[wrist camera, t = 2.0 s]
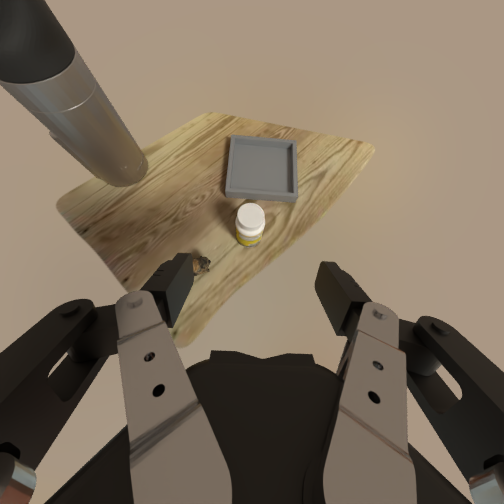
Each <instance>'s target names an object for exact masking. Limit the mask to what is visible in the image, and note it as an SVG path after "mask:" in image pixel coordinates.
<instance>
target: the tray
mask: <svg viewBox="0 0 504 504" xmlns="http://www.w3.org/2000/svg"><path fill="white" fill-rule="evenodd" d="M225 193H226V197H229V198H242V199H255V200H268V201H281V202H294V203H295V202H296V200H297V198H298V182H297V145H296V140H285V139H274V138H263V137H252V136H241V135H231V143H230V152H229V161H228V170H227V180H226V189H225Z"/></svg>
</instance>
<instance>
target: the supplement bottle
mask: <svg viewBox="0 0 504 504" xmlns="http://www.w3.org/2000/svg"><path fill="white" fill-rule="evenodd" d="M235 225H236V237H237V240H238V242H239V243H240V244H241V245H242V246H244V247H254V246H256V245H257V244H258V243H259V242H260V240H261V237H262V233H263V230H264V226H265V219H264V211H263V209H262V208H261V207H260V206H259V205H257V204H254V203H247V204H244V205H242V206H241V207H240V208H239V210H238V213H237V217H236V221H235Z"/></svg>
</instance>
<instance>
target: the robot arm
mask: <svg viewBox="0 0 504 504" xmlns="http://www.w3.org/2000/svg"><path fill="white" fill-rule="evenodd" d="M0 85H1V86H2V87H3V88H4V89H5V90H6V91H8V92H9V93H10V94H11V95H12V96H13V97H14V98H15V99H16V100H17V101H18V102H20V103H21V104H22V105H23V106H24V107H25V108H26V109H27V110H28V111H29V112H31V113H32V114H33V115H34V116H35V117H36V118H37V119H38V120H39V121H40V122H41V123H43V125H45V126H46V127H47V128H48V129H49V130H50V132H49V133H50V136H51V137H52V138H53V139H54V140H55V141H56V142H57V143H58V144H60V145H61V146H62V147H63V148H64V149H65V150H66V151H67V152H69V153H70V154H71V155H72V156H73V157H74V158H75V159H76V160H77V161H79V162H80V163H81V164H82V165H83V166H84V167H85V168H86V169H88V170H89V171H90V172H91V173H92V174H93V175H94V176H95V177H96V178H100V179H103V180H104V181H105V182H107V183H108V184H110V185H113V186H119V187H122V186H129V185H132V184H134V183H136V182H138V181H139V180H141V179H142V178H143V177H144V175H145V174H146V172H147V169H148V162H147V159H146V157H145V156H144V154H143V153H142V151H141V149H140V148H139V146H138V145H137V143H136V142H135V140H134V138H133V137H132V135H131V134H130V132H129V131H128V129H127V128H126V126H125V124H124V123H123V121H122V120H121V118H120V117H119V115H118V114H117V112H116V110H115V109H114V107H113V106H112V104H111V103H110V101H109V99H108V98H107V96H106V95H105V93H104V92H103V90H102V88H101V87H100V85H99V84H98V82H97V81H96V79H95V78H94V76H93V75H92V73H91V71H90V70H89V68H88V67H87V65H86V64H85V62H84V60H83V59H82V57H81V56H80V54H79V53H78V51H77V50H76V48H75V46H74V45H73V43H72V42H71V40H70V38H69V37H68V36H67V34H66V32H65V31H64V29H63V28H62V26H61V25H60V23H59V22H58V20H57V19H56V17H55V16H54V14H53V13H52V11H51V10H50V8H49V7H48V5H47V4H46V2H45V0H0ZM193 282H194V269H193V259H192V254H191V253H177V255H176V256H175V257H174V258H173V260H168V261H166V262H165V263H163V264H161V265H160V267H159V268H158V269H157V271H155V272H154V274H153V276H151V277H150V278H149V280H148V281H147V282H146V283H145V284H144V286H143V287H142V288H141V289H140V290H139V291H134V292H131V293H128V294H126V295H124V296H123V297H121V298H120V299H119V300H118V301H117V302H116V304H113V305H108V306H102V307H96V308H95V306H94V304H93V302H92V301H91V300H88V299H78V300H73V301H70V302H67V303H64V304H63V305H60V306H58V307H57V308H55V309H54V310H52V311H51V312H50V313H49V314H47V315H46V316H45V317H44V318H43V319H41V320H40V321H39V322H38V323H37V324H35V325H34V326H33V327H32V328H30V329H29V330H28V331H27V332H26V333H24V334H23V335H22V336H21V337H19V338H18V339H17V340H16V341H15V342H13V343H12V344H11V345H10V346H9V347H7V348H6V349H5V350H4V351H3V352H1V353H0V504H29V502H30V499H31V498H32V495H33V492H34V490H35V486H36V473H35V469H36V468H37V467H38V465H39V463H40V462H41V460H42V459H43V457H44V456H45V454H46V453H47V451H48V450H49V448H50V446H51V445H52V443H53V442H54V440H55V439H56V437H57V436H58V434H59V433H60V431H61V430H62V428H63V426H64V425H65V423H66V422H67V420H68V419H69V417H70V416H71V414H72V412H73V411H74V409H75V408H76V406H77V405H78V403H79V402H80V400H81V399H82V397H83V396H84V394H85V393H86V391H87V389H88V388H89V386H90V385H91V383H92V382H93V380H94V379H95V377H96V376H97V374H98V372H99V371H100V369H101V368H102V366H103V365H104V363H105V362H106V360H107V359H108V357H109V355H114V354H117V353H118V354H119V362H120V371H121V378H122V386H123V394H124V401H125V409H126V417H127V425H126V426H125V427H124V428H123V429H122V430H121V431H120V432H119V433H118V434H117V435H116V436H115V437H113V438H112V439H111V440H110V441H109V442H108V443H107V444H106V445H105V446H104V447H103V448H102V449H101V450H100V451H99V452H98V453H97V454H96V455H95V456H94V457H93V458H91V459H90V461H88V462H87V463H86V464H85V465H84V466H83V467H82V468H81V469H80V470H79V471H78V472H77V473H76V474H75V475H74V476H73V477H72V478H71V479H69V480H68V481H67V483H65V484H64V485H63V486H62V487H61V488H60V489H59V490H58V491H57V492H56V493H55V494H54V495H53V496H52V497H51V498H50V499H48V500H47V501H46V502H45V503H44V504H472V503H471V502H470V501H469V500H468V499H467V498H466V497H465V496H464V495H463V494H461V492H460V491H458V490H457V489H456V488H455V487H454V486H453V485H452V484H451V483H450V482H449V481H448V480H447V479H446V478H445V477H444V476H443V475H442V474H441V473H440V472H439V471H438V470H436V469H435V467H434V466H432V465H431V464H430V463H429V462H428V461H427V460H426V459H425V458H424V457H423V456H422V455H421V454H420V453H419V452H418V451H417V450H416V449H415V448H414V447H413V446H412V445H411V444H410V443H408V439H407V438H408V436H407V387H408V388H409V390H410V392H411V393H412V395H413V396H414V398H415V399H416V401H417V402H418V404H419V406H420V407H421V409H422V411H423V412H424V414H425V415H426V417H427V418H428V420H429V422H430V423H431V425H432V426H433V428H434V430H435V431H436V433H437V434H438V436H439V438H440V439H441V441H442V443H443V444H444V446H445V447H446V449H447V450H448V452H449V454H450V455H451V457H452V458H453V460H454V462H455V463H456V465H457V466H458V468H459V470H460V471H461V472H462V474H463V476H464V477H465V479H466V481H467V482H468V484H469V489H470V493H471V496H472V499H473V501H474V503H475V504H504V372H503V371H501V370H500V369H499V368H498V367H497V366H496V365H495V364H494V363H493V362H491V361H490V360H489V359H488V358H487V357H486V356H485V355H484V354H482V353H481V352H480V351H479V350H478V349H477V348H476V347H475V346H474V345H472V344H471V343H470V342H469V341H468V340H467V339H466V338H465V337H463V336H462V335H461V334H460V333H459V332H458V331H457V330H456V329H454V328H453V327H452V326H450V325H449V324H447V323H445V322H443V321H441V320H439V319H437V318H434V317H430V316H422V317H420V318H419V319H418V321H417V322H416V323H413V322H409V321H406V320H402V319H399V318H398V316H397V315H396V314H395V313H394V312H393V311H392V310H391V309H389V308H388V307H386V306H384V305H382V304H379V303H375V302H372V301H371V299H370V298H369V297H368V296H367V295H366V293H365V292H364V291H363V290H362V288H361V287H359V285H358V284H357V283H356V282H355V280H354V279H353V278H352V276H350V275H349V274H348V273H346V272H345V271H343V270H341V269H340V268H339V266H338V265H337V264H336V263H335V262H325V261H322V262H321V263H320V267H319V270H318V273H317V277H316V280H315V290H316V293H317V295H318V297H319V299H320V301H321V304H322V306H323V307H324V310H325V312H326V314H327V316H328V318H329V320H330V322H331V324H332V326H333V329H334V331H335V333H336V335H337V336H346V337H347V339H348V340H347V342H346V344H345V347H344V350H343V353H342V356H341V360H340V363H339V366H338V369H337V371H336V374H335V373H333V372H332V371H330V370H329V369H327V368H325V367H323V366H321V365H318V364H315V362H314V358H313V355H312V354H290V353H289V354H288V353H287V354H283V355H279V356H274V357H270V358H266V359H260V358H257V357H254V356H250V355H246V354H244V353H240V352H237V351H214V350H212V351H211V354H210V359H208V360H204V361H201V362H198V363H196V364H194V365H192V366H191V367H189V368H187V369H186V370H185V368H184V366H183V363H182V361H181V359H180V356H179V354H178V351H177V349H176V347H175V344H174V342H173V339H172V337H171V335H170V332H169V330H168V328H173V326H174V324H175V322H176V320H177V318H178V315H179V313H180V311H181V309H182V307H183V305H184V302H185V300H186V298H187V296H188V294H189V292H190V289H191V287H192V285H193ZM66 352H67V353H68V355H67V356H66V358H65V359H64V360H63V361H62V362H61V364H60V365H59V366H58V367H57V368H56V369H55V370H54V371H53V373H52V374H51V375H50V376H49V377H48V375H49V372H50V370H51V369H52V368H53V366H54V365H55V364H56V363H57V362H58V361H59V359H60V358H61V357H62V356H63V355H64V354H65V353H66ZM441 365H443V366H444V367H445V369H446V370H447V371H448V372H449V373H450V374H451V375H452V377H453V378H454V379H455V380H456V381H457V383H458V384H459V385H460V387H461V389H462V398H461V400H458V398H457V397H456V396H455V395H454V393H453V392H452V391H451V390H450V388H449V387H448V386H447V385H446V383H445V382H444V381H443V380H442V379H441V377H440V376H439V375H438V374H437V372H436V370H437V369H438V368H439V367H440V366H441Z"/></svg>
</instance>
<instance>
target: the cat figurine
mask: <svg viewBox="0 0 504 504" xmlns="http://www.w3.org/2000/svg"><path fill="white" fill-rule="evenodd" d="M210 262H211V261H210V260H208V258H207V257H202V256H201V257H200V258H197V259H193V269H194V276H197V275H199V274H202V273H205V272H209V269H208V267H209V264H210Z"/></svg>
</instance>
